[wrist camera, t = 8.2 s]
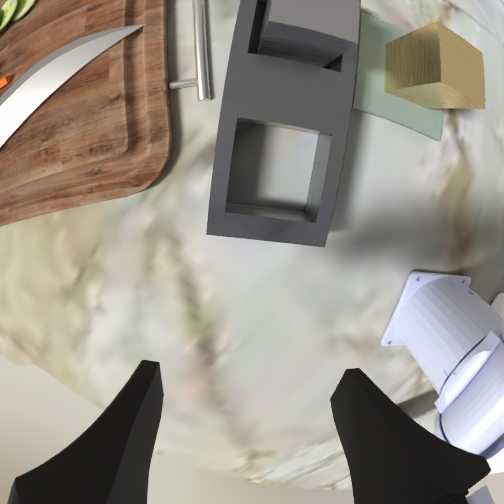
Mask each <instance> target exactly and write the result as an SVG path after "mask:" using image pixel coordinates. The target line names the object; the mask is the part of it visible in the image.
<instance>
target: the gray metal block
mask: <svg viewBox="0 0 504 504" xmlns="http://www.w3.org/2000/svg"><path fill="white" fill-rule="evenodd" d="M359 9H360V0H267V3H266V6H265V10H264V15H263V21H262V27H261V33H260V39H259V45H258V51H257V54H259V55H265V56H271V57H277V58H282V59H288V60H292V61H297V62H302V63H306V64H310V65H314V66H318V67H322V68H323V67H324V66H326V65H327V64H328V63H330V62H331V61H333V60H334V59H336V58H337V57H339V56H340V55H341V54H343V53H344V52H346V51H347V50H349V49H350V48H352V47H353V46H355V45H357V44H358V31H359Z"/></svg>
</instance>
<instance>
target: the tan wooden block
mask: <svg viewBox="0 0 504 504" xmlns="http://www.w3.org/2000/svg"><path fill="white" fill-rule="evenodd" d="M384 92H386V93H388V94H391V95H394V96H397V97H399V98H402V99H405V100H407V101H410V102H412V103H415V104H417V105H419V106H422V107H424V108H426V109H442V108H462V109H485V81H484V66H483V56H482V52H480V51H479V50H478V49H476V48H475V47H474V46H473V45H471V44H470V43H469V42H467V41H466V40H464V39H463V38H462V37H460V36H459V35H457V34H456V33H454V32H453V31H451V30H450V29H448V28H447V27H445V26H444V25H442V24H440V23H439V22H435V23H432V24H430V25H427V26H425V27H422V28H420V29H417V30H415V31H413V32H410V33H408V34H406V35H403V36H401V37H399V38H397V39H395V40H393V41H391V42H388V43H386V60H385V88H384Z"/></svg>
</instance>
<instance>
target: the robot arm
mask: <svg viewBox="0 0 504 504" xmlns="http://www.w3.org/2000/svg"><path fill="white" fill-rule="evenodd" d="M418 276H419V277H418ZM417 277H418V278H417ZM470 283H471V278H470V277H469V276H460V275H449V274H438V273H427V272H416V271H414V272H412V273H411V274H410V275H409V277H408V280H407V282H406V285H405V287H404V290H403V292H402V295H401V297H400V300H399V302H398V304H397V307H396V309H395V311H394V314H393V316H392V318H391V320H390V323H389V325H388V327H387V329H386V331H385V333H384V335H383V337H382V339H381V345H382V346H394V345H404V344H405V346H406V347H407V348H408V350H409V351H410V353H411V354H412V356H413V357H414V359H415V360H416V361H417V363H418V364H419V366H420V367H421V369H422V370H423V372H424V373H425V375H426V376H427V378H428V379H429V381H430V382H431V384H432V385H433V387H434V389H435V390H436V392H437V393H438V395H439V398H438V399H437V401H436V402H435V403H434V404H435V406H436V407H437V409H438V411H439V412H438V414H437V415H436V418H435V434H436V436H435V435H433V434H432V433H430V432H429V431H427V430H426V429H425V428H423V427H422V426H420V425H419V424H418V423H416V422H415V421H414V420H413V419H411V418H410V417H409V416H408V415H407V414H406V413H404V412H403V411H402V410H401V409H400V408H399V407H398V406H397V405H396V404H395V403H394V402H392V401H391V400H390V399H389V398H388V397H387V396H386V395H385V394H384V393H383V392H382V391H381V390H380V389H379V388H378V387H377V386H376V385H375V383H374V382H373V381H372V380H371V379H370V378H369V377H368V376H367V375H366V374H365V373H364V372H363V371H362V370H361V369H359V368H355V369H346V371H345V373H344V375H343V377H342V378H341V380H340V382H339V384H338V386H337V388H336V390H335V391H334V393H333V395H332V397H331V399H330V401H331V407H332V413H333V418H334V422H335V425H336V428H337V431H338V434H339V437H340V440H341V443H342V446H343V449H344V452H345V456H346V459H347V462H348V466H349V470H350V475H351V481H352V487H353V495H354V504H494V502H493V499H492V497H491V495H490V492H489V490H488V488H487V486H484V487H482V488H480V489H479V490H477V491H476V492H474V493H473V494H472V495H470V496H468V497H467V498H466V497H465V496H466V495H467V494H468V493H469V492H468V489H469V488H471V487H472V486H473V485H475V484H476V483H477V482H479V481H480V480H481V479H483V478H484V477H485V476H486V475H488V474H494V473H499V472H504V320H503V318H502V317H501V315H500V314H499V313H498V312H497V311H495V310H494V309H493V308H492V307H491V306H490V305H489V304H488V303H487V302H485V301H484V300H483V299H482V298H481V297H480V296H478V295H477V294H476V293H475V292H474V291H473V290H471V289H470V288H469V285H470ZM163 396H164V393H163V387H162V379H161V372H160V364H159V362H154V361H148V360H142V361H141V362H140V364H139V365H138V367H137V368H136V370H135V371H134V373H133V374H132V376H131V377H130V379H129V380H128V382H127V383H126V384H125V386H124V387H123V388H122V390H121V391H120V392H119V393H118V395H117V396H116V397H115V399H114V400H113V401H112V402H111V404H110V405H109V406H108V407H107V408H106V409H105V411H104V412H103V413H102V414H101V415H100V416H99V417H98V419H97V420H96V421H95V422H94V423H93V424H92V425H91V426H90V427H89V428H88V429H87V430H86V431H85V432H84V433H83V434H82V435H80V437H78V438H77V439H76V440H75V441H74V442H72V443H71V444H70V445H69V446H67V447H66V448H65V449H64V450H62V451H61V452H60V453H58V454H57V455H55V456H54V457H52V458H51V459H49V460H48V461H46V462H45V463H43V464H42V465H40V466H38V467H36V468H34V469H33V470H30V471H29V472H27V473H25V474H23V475H21V476H18V477H16V478H15V481H14V483H13V485H12V488H11V492H10V496H9V500H8V504H147V491H148V490H147V489H148V477H149V469H150V462H151V458H152V453H153V449H154V445H155V440H156V436H157V432H158V428H159V423H160V419H161V412H162V404H163Z"/></svg>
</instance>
